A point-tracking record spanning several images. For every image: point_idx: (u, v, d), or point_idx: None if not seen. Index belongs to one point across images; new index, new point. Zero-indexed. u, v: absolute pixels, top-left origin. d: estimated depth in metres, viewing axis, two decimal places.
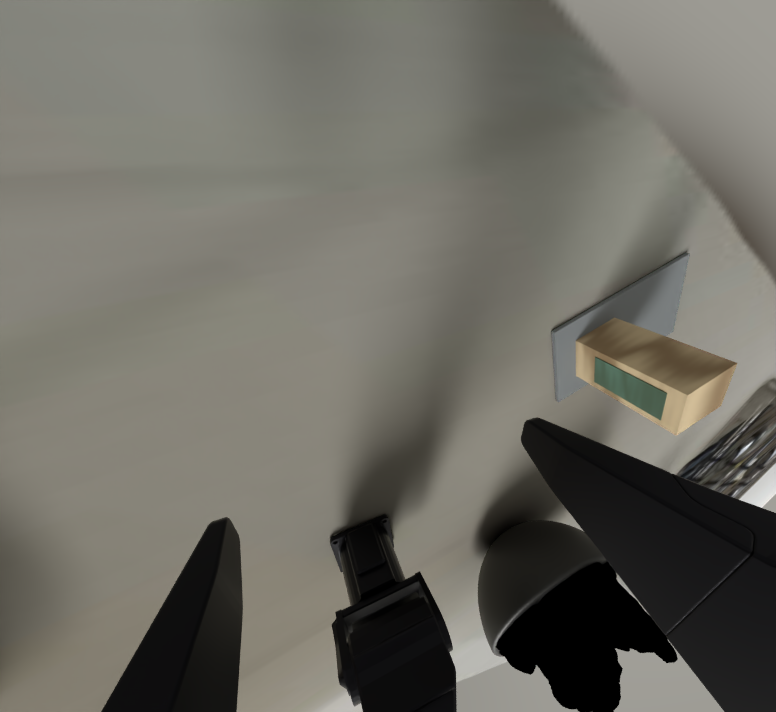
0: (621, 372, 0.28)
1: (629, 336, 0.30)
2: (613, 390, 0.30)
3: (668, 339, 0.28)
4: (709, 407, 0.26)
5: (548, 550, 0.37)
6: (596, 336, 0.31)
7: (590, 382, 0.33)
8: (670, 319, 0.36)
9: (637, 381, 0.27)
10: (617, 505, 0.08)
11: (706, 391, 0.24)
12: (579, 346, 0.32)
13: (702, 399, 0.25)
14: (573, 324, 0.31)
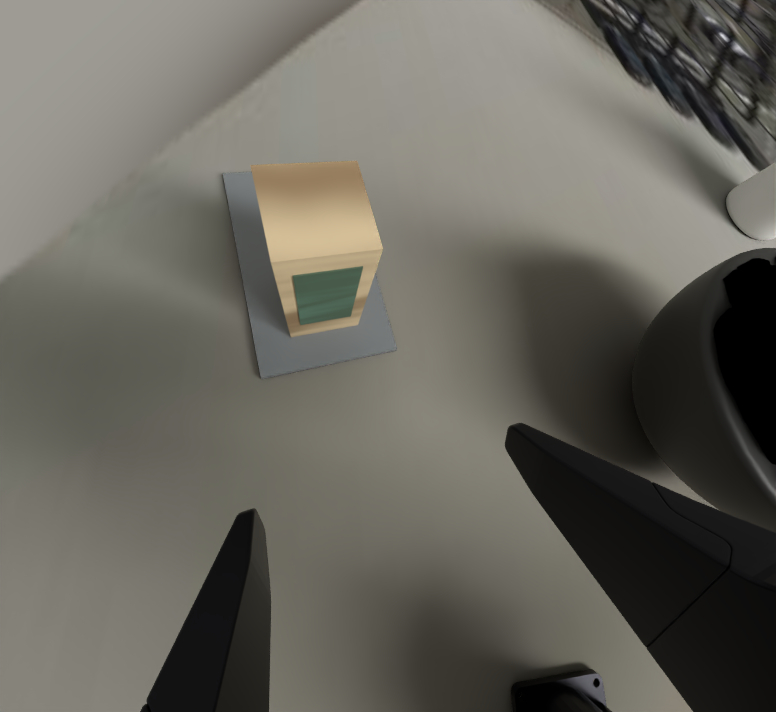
0: (304, 307, 0.18)
1: None
2: (348, 304, 0.20)
3: None
4: (344, 188, 0.15)
5: (668, 406, 0.20)
6: None
7: (356, 316, 0.22)
8: None
9: (301, 297, 0.17)
10: (597, 514, 0.07)
11: (288, 215, 0.14)
12: (297, 334, 0.22)
13: (308, 216, 0.14)
14: (260, 346, 0.22)
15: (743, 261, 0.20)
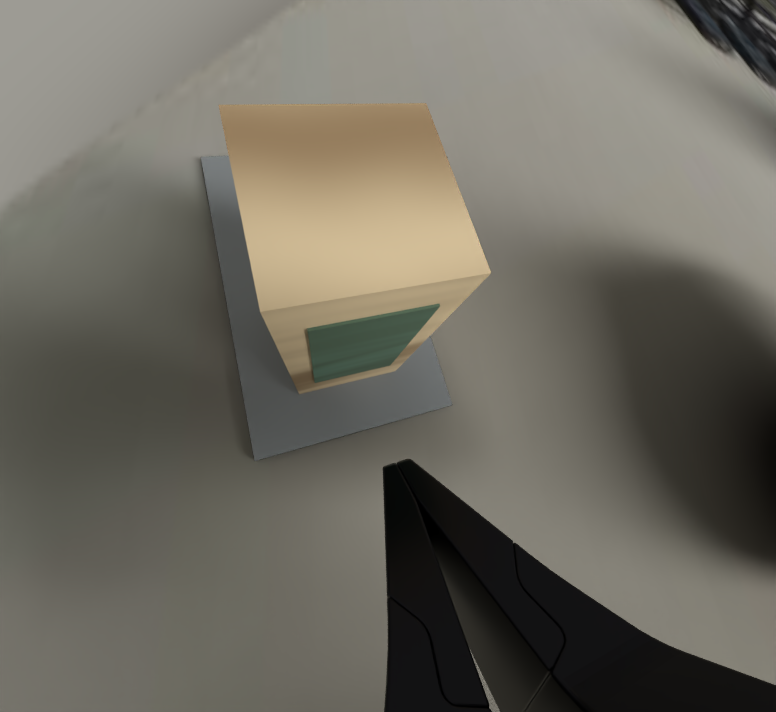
0: (322, 364, 0.11)
1: None
2: (392, 354, 0.12)
3: None
4: (407, 154, 0.08)
5: None
6: None
7: (397, 364, 0.15)
8: None
9: (320, 355, 0.09)
10: (458, 576, 0.07)
11: (297, 207, 0.07)
12: (308, 390, 0.15)
13: (340, 208, 0.07)
14: (253, 410, 0.15)
15: None
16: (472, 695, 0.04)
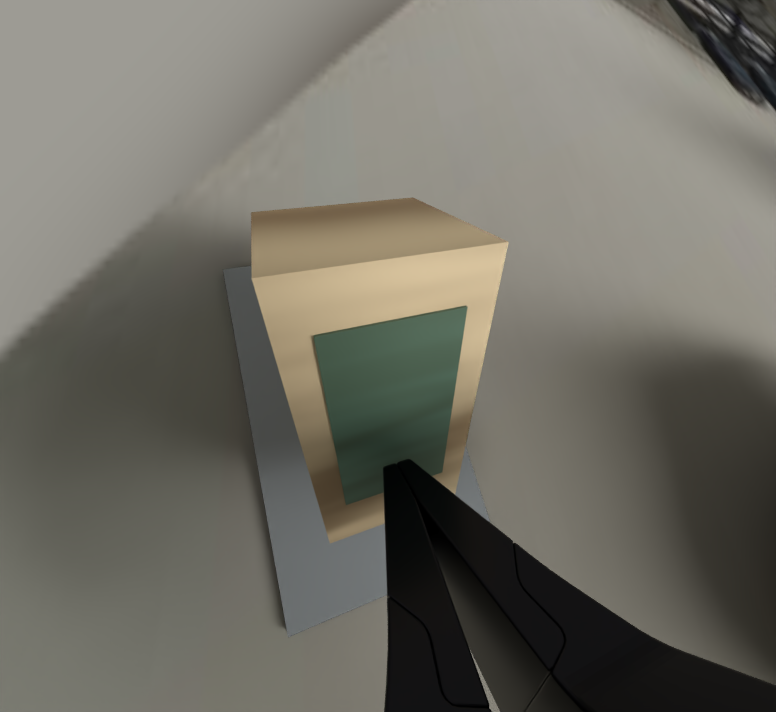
0: (349, 449, 0.09)
1: None
2: (438, 436, 0.09)
3: None
4: (402, 211, 0.09)
5: None
6: None
7: (452, 474, 0.11)
8: None
9: (340, 413, 0.08)
10: (457, 576, 0.07)
11: (304, 234, 0.07)
12: (341, 532, 0.11)
13: (343, 231, 0.07)
14: (285, 573, 0.13)
15: None
16: (472, 695, 0.04)
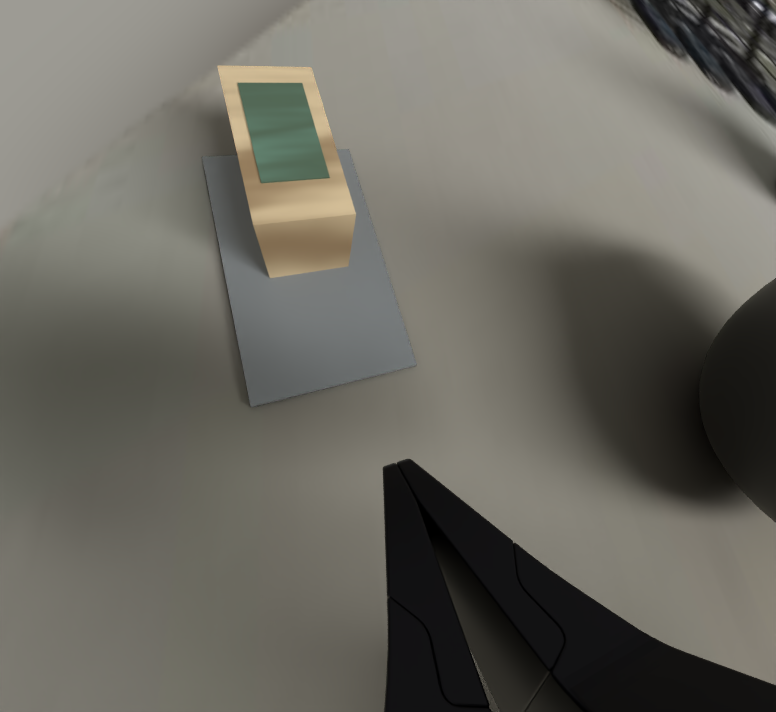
0: (258, 140, 0.16)
1: None
2: (314, 145, 0.17)
3: None
4: None
5: (771, 436, 0.15)
6: None
7: (341, 185, 0.16)
8: None
9: (250, 115, 0.16)
10: (458, 576, 0.07)
11: None
12: (262, 215, 0.15)
13: None
14: (249, 366, 0.18)
15: None
16: (472, 695, 0.04)
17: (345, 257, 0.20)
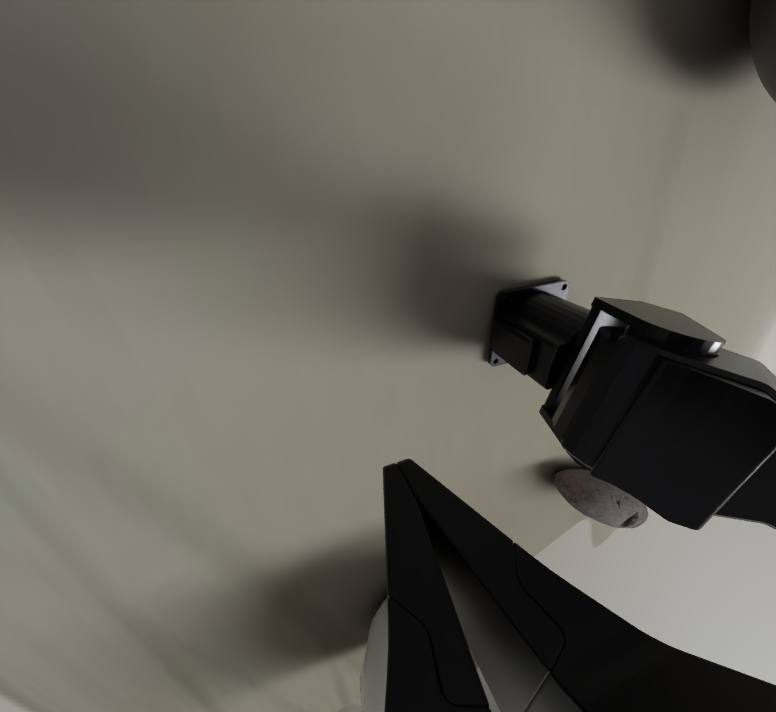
0: None
1: None
2: None
3: None
4: None
5: None
6: None
7: None
8: None
9: None
10: (457, 576, 0.07)
11: None
12: None
13: None
14: None
15: None
16: (472, 695, 0.04)
17: None
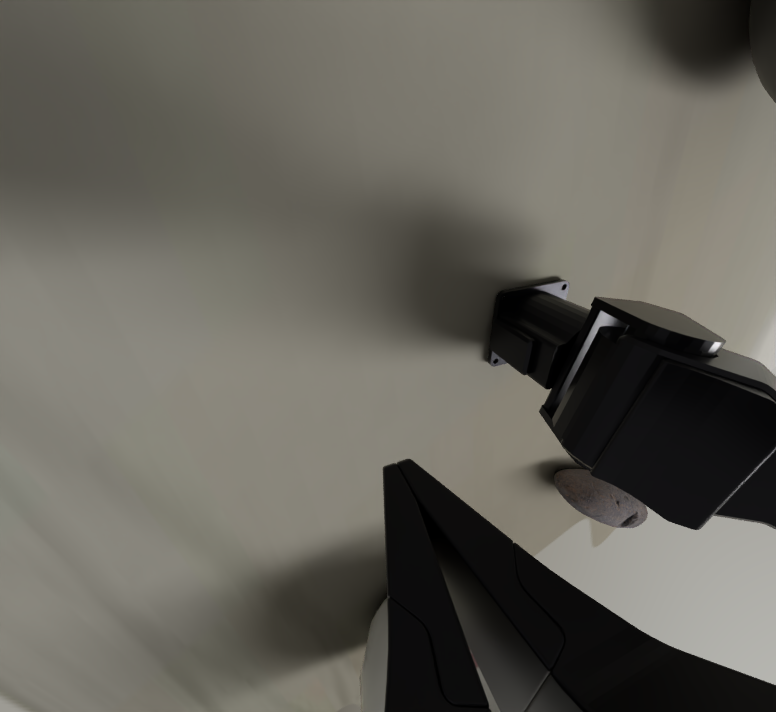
0: None
1: None
2: None
3: None
4: None
5: None
6: None
7: None
8: None
9: None
10: (458, 576, 0.07)
11: None
12: None
13: None
14: None
15: None
16: (472, 695, 0.04)
17: None
